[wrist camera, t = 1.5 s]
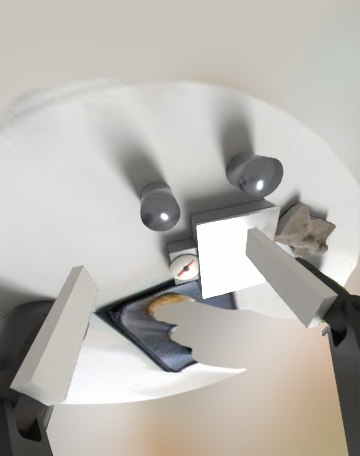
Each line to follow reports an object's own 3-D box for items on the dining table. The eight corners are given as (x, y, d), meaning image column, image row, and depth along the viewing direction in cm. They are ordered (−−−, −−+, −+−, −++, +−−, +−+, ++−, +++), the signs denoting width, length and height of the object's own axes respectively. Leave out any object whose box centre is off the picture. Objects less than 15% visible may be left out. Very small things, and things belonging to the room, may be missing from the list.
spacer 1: (145, 215, 26) (145, 234, 21) (137, 185, 24) (135, 199, 19) (175, 209, 27) (182, 227, 22) (170, 179, 24) (177, 191, 19)
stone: (258, 236, 34) (271, 247, 31) (291, 196, 31) (310, 204, 27) (298, 254, 40) (312, 266, 36) (329, 223, 36) (349, 232, 33)
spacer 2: (226, 188, 27) (245, 200, 22) (226, 155, 24) (248, 161, 19) (253, 182, 27) (279, 193, 22) (257, 150, 25) (287, 154, 20)
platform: (201, 295, 35) (203, 298, 34) (195, 223, 25) (197, 226, 24) (261, 279, 36) (264, 282, 35) (277, 206, 27) (280, 208, 26)
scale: (174, 289, 37) (177, 303, 34) (159, 221, 27) (161, 231, 24) (253, 269, 39) (262, 280, 36) (264, 199, 29) (278, 206, 26)
